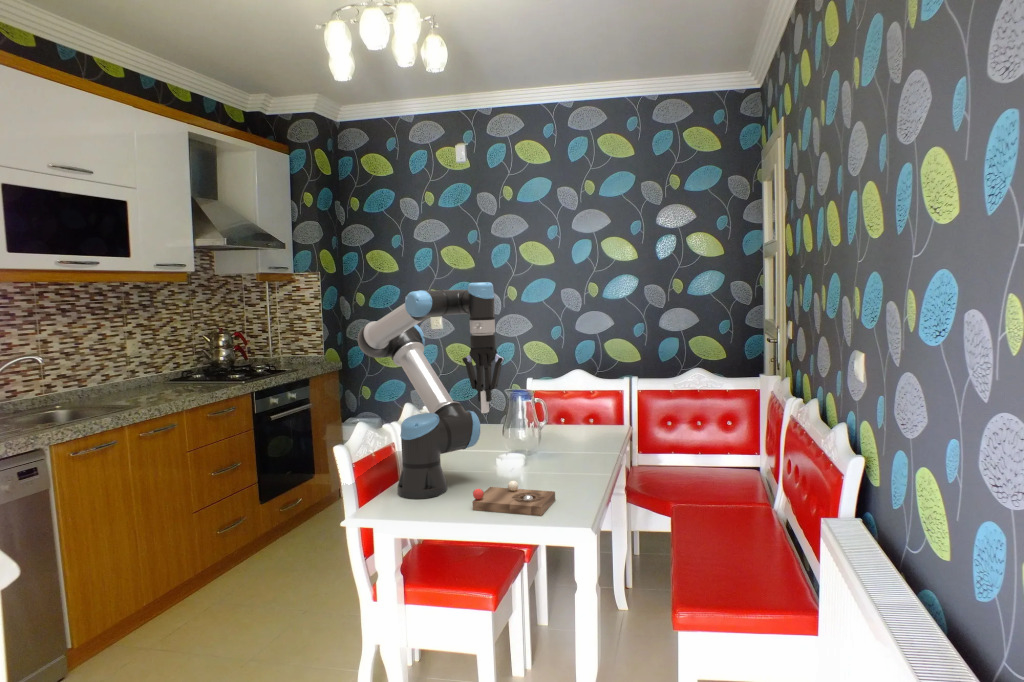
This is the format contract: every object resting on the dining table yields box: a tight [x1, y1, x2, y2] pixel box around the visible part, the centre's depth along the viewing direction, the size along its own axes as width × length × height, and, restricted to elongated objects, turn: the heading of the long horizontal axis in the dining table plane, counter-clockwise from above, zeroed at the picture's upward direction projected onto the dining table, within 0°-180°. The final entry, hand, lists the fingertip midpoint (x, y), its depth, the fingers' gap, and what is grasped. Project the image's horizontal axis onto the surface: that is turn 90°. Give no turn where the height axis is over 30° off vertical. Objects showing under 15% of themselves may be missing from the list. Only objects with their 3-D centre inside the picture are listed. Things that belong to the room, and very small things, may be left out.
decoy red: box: [472, 488, 484, 500], centre depth 189 cm, size 3×3×3 cm
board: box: [472, 486, 556, 517], centre depth 191 cm, size 20×14×2 cm
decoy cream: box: [507, 480, 519, 491], centre depth 196 cm, size 3×3×3 cm
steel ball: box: [523, 495, 533, 500], centre depth 190 cm, size 3×3×3 cm
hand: (485, 412), depth 203 cm, fingers closed
